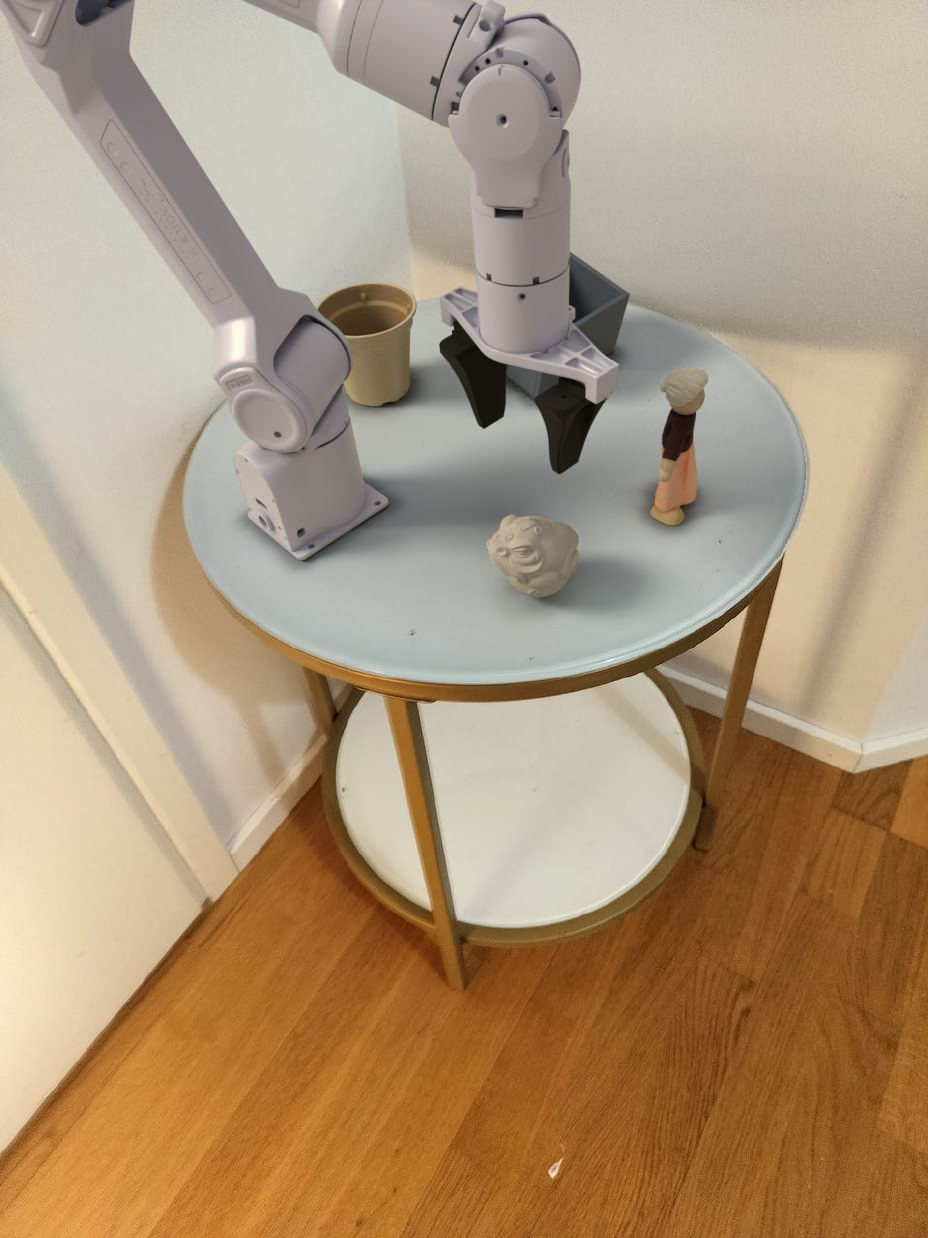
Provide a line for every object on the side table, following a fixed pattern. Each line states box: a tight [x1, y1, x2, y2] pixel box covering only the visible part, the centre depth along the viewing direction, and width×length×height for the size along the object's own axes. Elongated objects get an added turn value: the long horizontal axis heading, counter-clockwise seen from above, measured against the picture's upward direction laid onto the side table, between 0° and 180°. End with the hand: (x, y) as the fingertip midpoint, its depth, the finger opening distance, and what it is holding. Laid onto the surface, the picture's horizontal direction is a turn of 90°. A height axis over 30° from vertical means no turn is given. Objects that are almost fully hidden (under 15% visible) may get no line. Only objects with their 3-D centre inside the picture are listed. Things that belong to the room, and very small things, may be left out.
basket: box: [506, 251, 631, 402], centre depth 83 cm, size 11×12×7 cm
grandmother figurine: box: [649, 366, 709, 527], centre depth 66 cm, size 8×4×13 cm, turn 171°
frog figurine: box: [486, 513, 580, 598], centre depth 64 cm, size 6×7×7 cm
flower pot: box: [315, 281, 418, 407], centre depth 82 cm, size 9×9×9 cm
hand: (527, 442), depth 63 cm, fingers open, 7 cm apart
